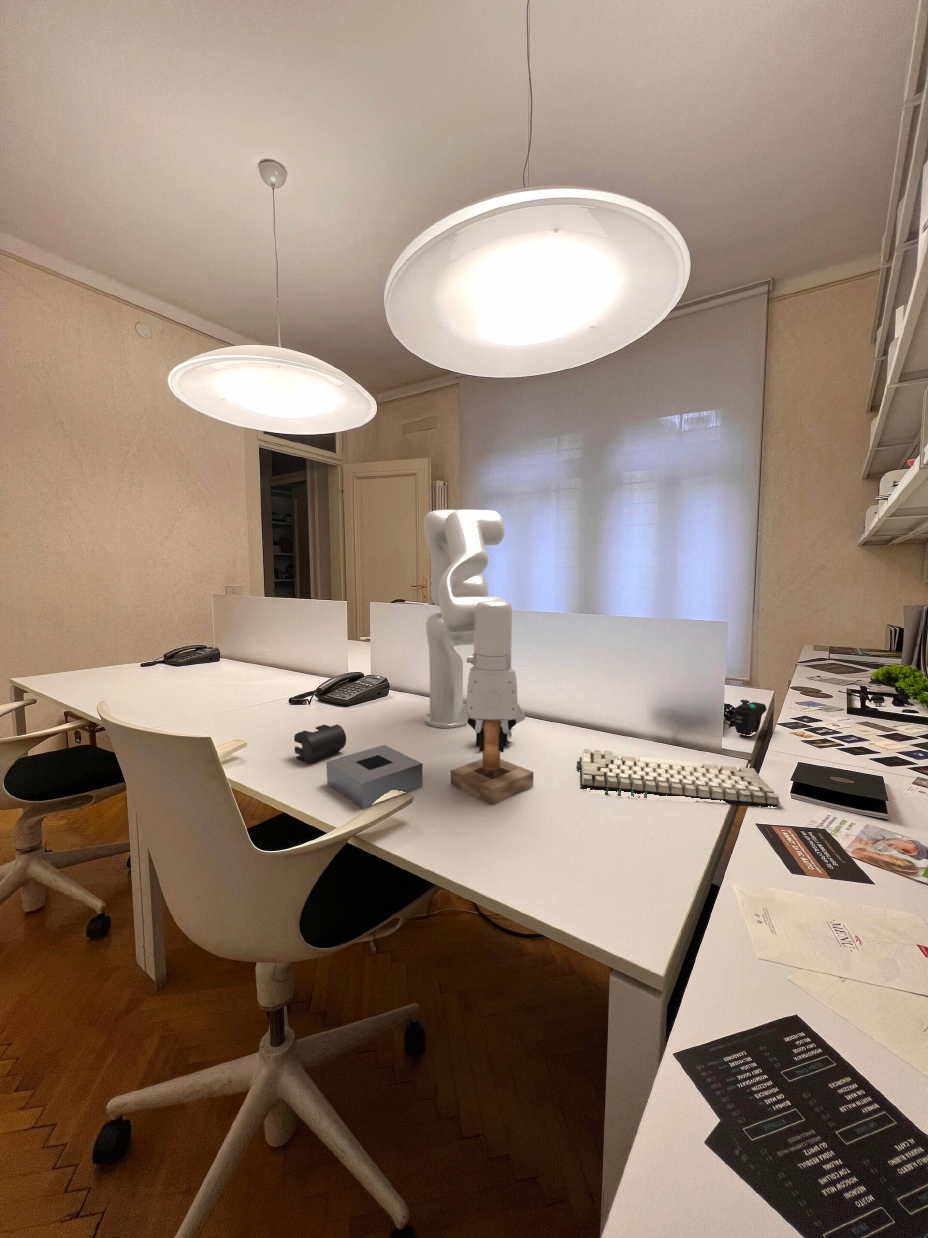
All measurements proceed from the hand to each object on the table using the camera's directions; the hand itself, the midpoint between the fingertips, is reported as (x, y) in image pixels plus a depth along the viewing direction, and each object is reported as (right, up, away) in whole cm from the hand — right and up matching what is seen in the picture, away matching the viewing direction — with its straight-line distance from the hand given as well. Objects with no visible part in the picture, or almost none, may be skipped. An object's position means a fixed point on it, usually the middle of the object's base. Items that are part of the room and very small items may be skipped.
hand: (491, 748), depth 103 cm
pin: (0, -4, 0) cm, 4 cm away
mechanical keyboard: (+37, -8, +2) cm, 38 cm away
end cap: (-40, -6, +16) cm, 43 cm away
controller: (+70, -4, +30) cm, 77 cm away
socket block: (-24, -8, 0) cm, 25 cm away
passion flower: (+1, -5, +24) cm, 25 cm away
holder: (0, -8, +1) cm, 8 cm away
